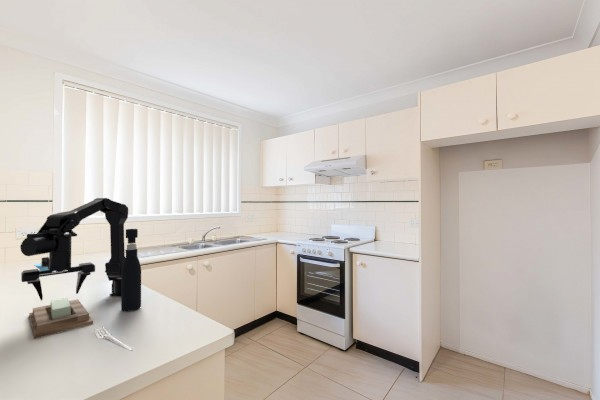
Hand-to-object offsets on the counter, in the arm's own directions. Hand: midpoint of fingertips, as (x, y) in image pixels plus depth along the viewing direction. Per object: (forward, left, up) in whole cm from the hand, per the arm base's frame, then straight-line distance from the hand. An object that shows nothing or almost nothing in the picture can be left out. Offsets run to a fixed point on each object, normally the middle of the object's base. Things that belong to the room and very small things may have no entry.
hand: (59, 296), depth 94 cm
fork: (-30, +12, -9) cm, 33 cm away
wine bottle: (-17, -12, -8) cm, 22 cm away
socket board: (0, 0, -8) cm, 8 cm away
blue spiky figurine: (+75, -61, -8) cm, 97 cm away
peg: (0, 0, -7) cm, 7 cm away
